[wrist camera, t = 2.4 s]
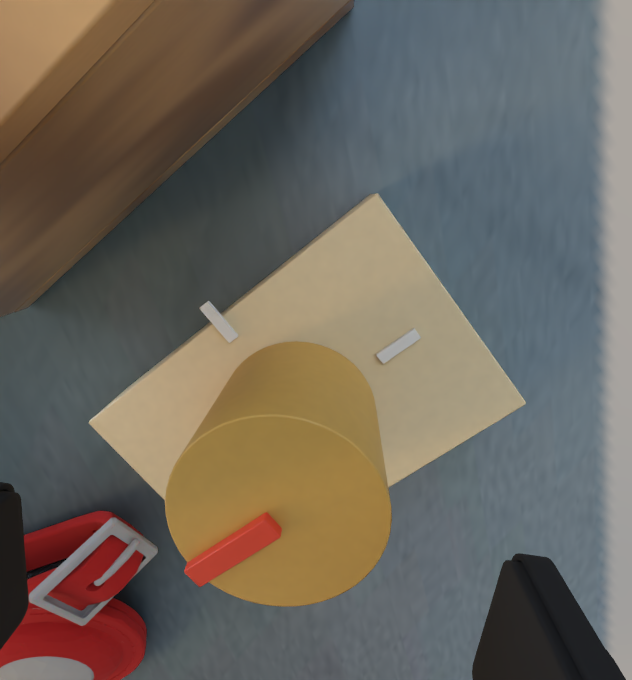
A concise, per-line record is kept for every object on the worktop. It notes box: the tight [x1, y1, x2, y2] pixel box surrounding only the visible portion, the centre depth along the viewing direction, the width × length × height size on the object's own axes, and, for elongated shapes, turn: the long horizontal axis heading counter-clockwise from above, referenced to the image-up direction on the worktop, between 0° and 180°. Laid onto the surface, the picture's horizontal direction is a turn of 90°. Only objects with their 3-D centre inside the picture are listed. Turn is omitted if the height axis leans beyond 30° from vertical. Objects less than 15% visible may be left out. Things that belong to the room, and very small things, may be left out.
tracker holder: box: [0, 511, 158, 680], centre depth 20 cm, size 12×4×10 cm
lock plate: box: [89, 193, 526, 500], centre depth 16 cm, size 12×9×3 cm
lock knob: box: [165, 341, 392, 606], centre depth 12 cm, size 5×5×5 cm
